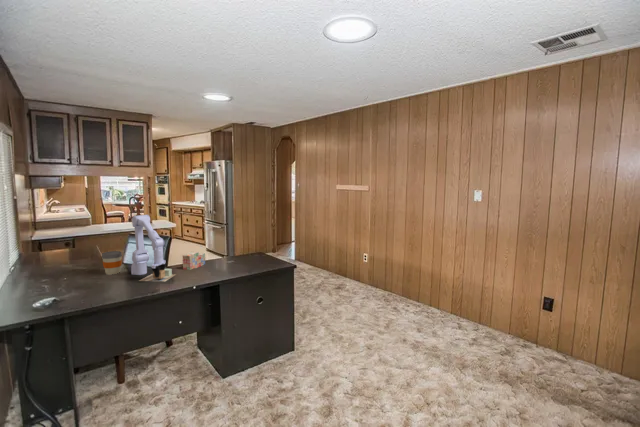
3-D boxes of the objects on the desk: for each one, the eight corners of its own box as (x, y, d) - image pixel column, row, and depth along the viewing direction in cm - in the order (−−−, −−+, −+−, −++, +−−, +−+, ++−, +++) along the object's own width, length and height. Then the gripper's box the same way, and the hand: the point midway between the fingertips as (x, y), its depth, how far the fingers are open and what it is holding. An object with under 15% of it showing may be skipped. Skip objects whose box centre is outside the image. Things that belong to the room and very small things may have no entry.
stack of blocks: (198, 263, 265) (198, 249, 264) (205, 264, 264) (205, 249, 263) (182, 270, 244) (182, 255, 243) (190, 271, 243) (189, 255, 242)
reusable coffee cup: (124, 269, 244) (123, 250, 243) (120, 274, 232) (119, 254, 231) (105, 271, 240) (104, 251, 239) (100, 276, 229) (98, 255, 227)
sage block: (162, 276, 227) (162, 270, 226) (165, 274, 231) (165, 268, 230) (168, 276, 226) (168, 270, 226) (171, 274, 231) (171, 268, 230)
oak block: (153, 278, 217) (153, 272, 217) (157, 276, 222) (157, 269, 222) (161, 278, 217) (160, 272, 216) (165, 276, 222) (164, 269, 222)
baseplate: (138, 282, 216) (138, 280, 216) (151, 275, 232) (151, 273, 232) (165, 282, 216) (165, 281, 216) (176, 275, 232) (176, 274, 232)
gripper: (158, 259, 211) (159, 279, 212) (169, 254, 225) (170, 272, 227) (148, 258, 211) (149, 279, 212) (159, 253, 225) (160, 272, 227)
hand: (159, 275), depth 219 cm, fingers closed on oak block, 5 cm apart
